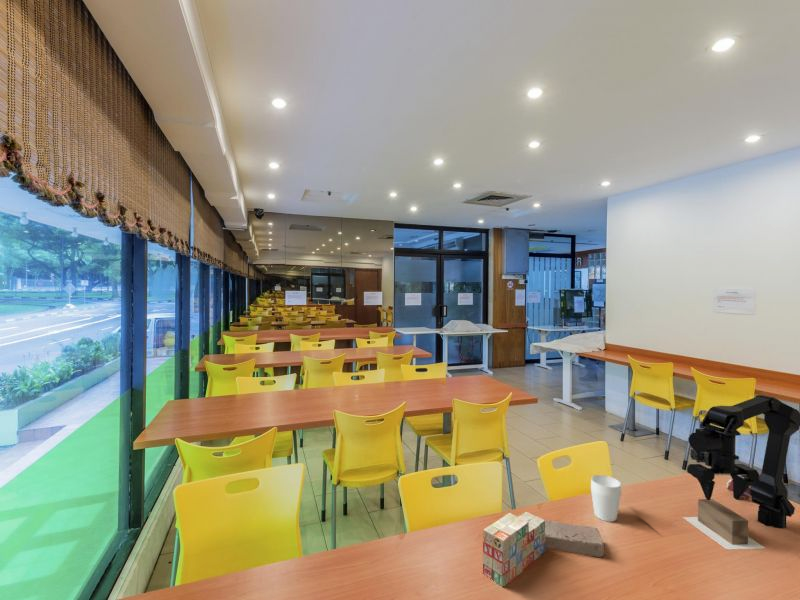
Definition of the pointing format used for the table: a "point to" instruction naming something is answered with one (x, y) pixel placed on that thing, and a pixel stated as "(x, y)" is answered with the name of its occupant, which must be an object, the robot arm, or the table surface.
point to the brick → (573, 538)
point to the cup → (605, 497)
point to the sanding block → (723, 521)
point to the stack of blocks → (512, 546)
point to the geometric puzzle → (745, 494)
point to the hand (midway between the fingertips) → (721, 499)
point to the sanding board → (719, 539)
